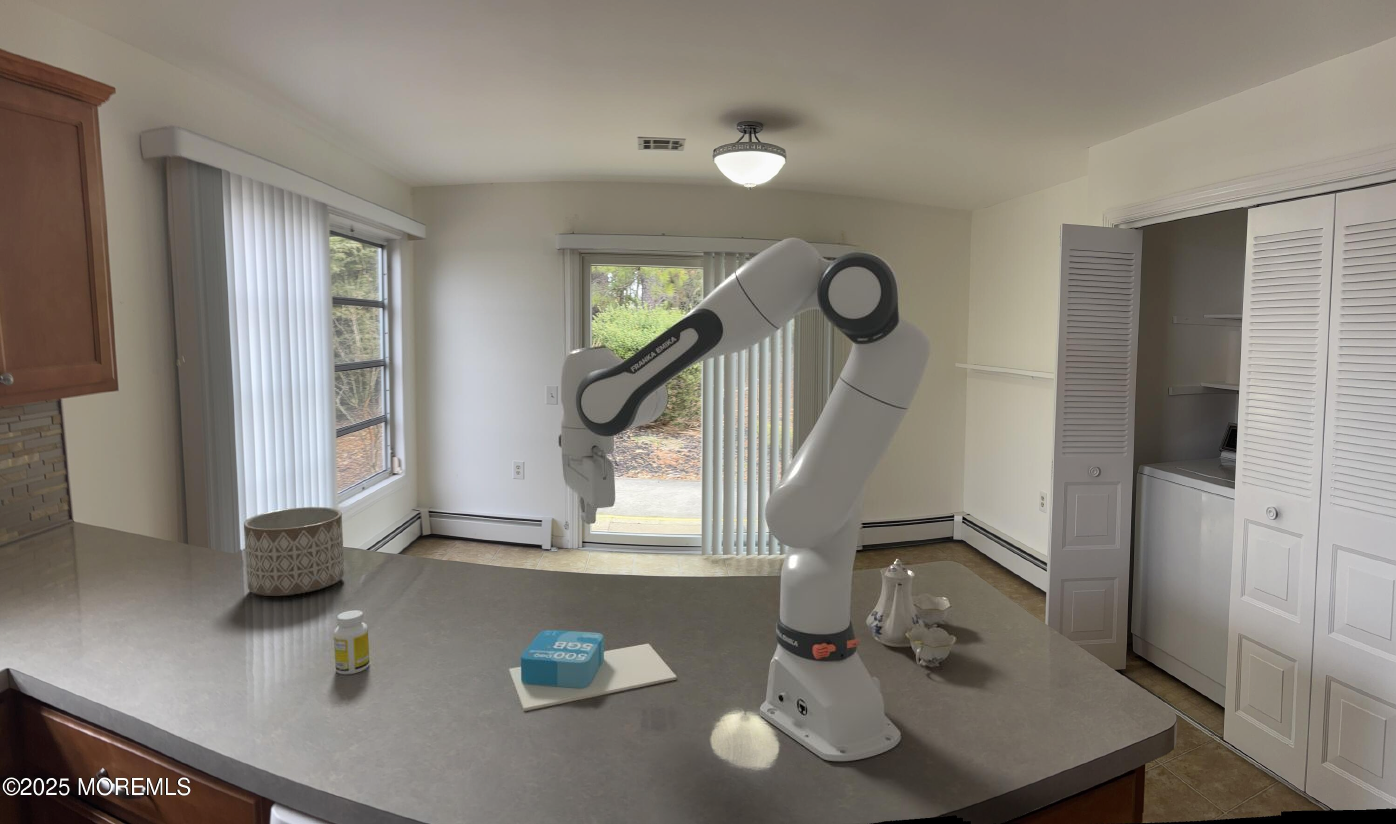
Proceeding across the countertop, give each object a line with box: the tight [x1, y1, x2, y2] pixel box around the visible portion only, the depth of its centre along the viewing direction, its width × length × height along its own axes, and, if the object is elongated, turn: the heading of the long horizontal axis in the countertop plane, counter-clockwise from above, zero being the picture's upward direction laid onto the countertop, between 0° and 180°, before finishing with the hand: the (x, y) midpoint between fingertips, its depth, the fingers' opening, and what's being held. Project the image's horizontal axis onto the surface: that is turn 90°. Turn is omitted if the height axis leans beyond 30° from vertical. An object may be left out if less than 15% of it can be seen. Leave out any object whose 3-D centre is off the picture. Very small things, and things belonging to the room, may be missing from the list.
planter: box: [243, 506, 345, 597], centre depth 159 cm, size 19×19×16 cm
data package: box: [520, 629, 605, 688], centre depth 121 cm, size 12×4×12 cm
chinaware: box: [865, 558, 958, 668], centre depth 136 cm, size 28×17×17 cm, turn 168°
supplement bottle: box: [333, 609, 370, 675], centre depth 122 cm, size 5×5×10 cm
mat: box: [508, 643, 678, 712], centre depth 121 cm, size 14×26×1 cm, turn 114°
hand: (588, 521), depth 120 cm, fingers closed
